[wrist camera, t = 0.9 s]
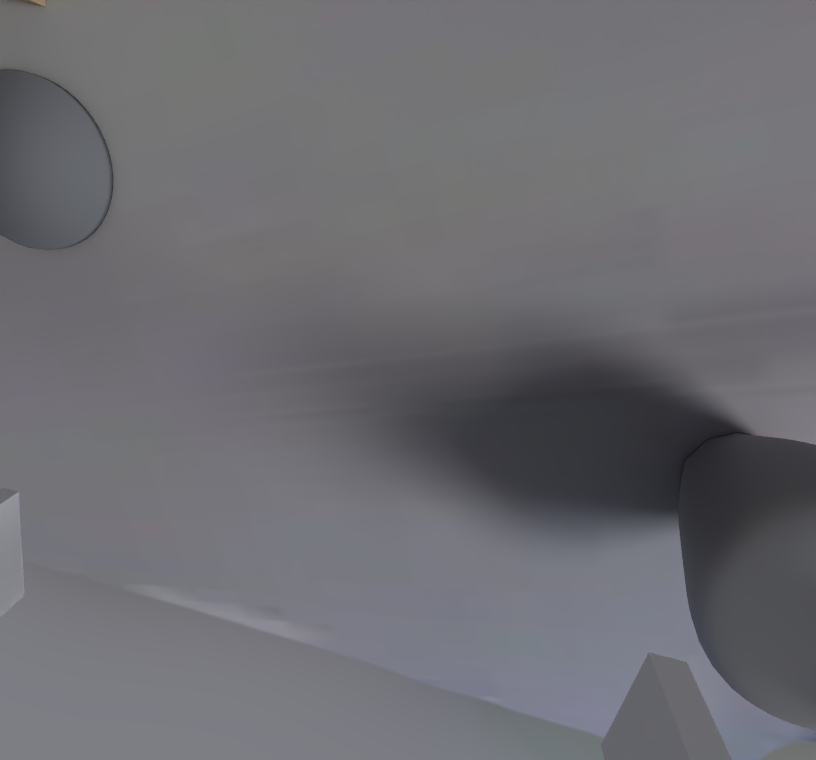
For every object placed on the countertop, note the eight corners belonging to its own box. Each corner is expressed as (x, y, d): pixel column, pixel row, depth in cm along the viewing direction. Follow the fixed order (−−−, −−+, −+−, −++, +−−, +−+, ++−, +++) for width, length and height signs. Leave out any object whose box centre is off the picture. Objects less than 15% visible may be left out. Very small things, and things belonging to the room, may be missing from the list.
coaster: (-47, 51, 34) (-56, 49, 33) (118, 97, 34) (112, 95, 33) (-41, 225, 38) (-48, 225, 37) (108, 266, 37) (102, 267, 37)
